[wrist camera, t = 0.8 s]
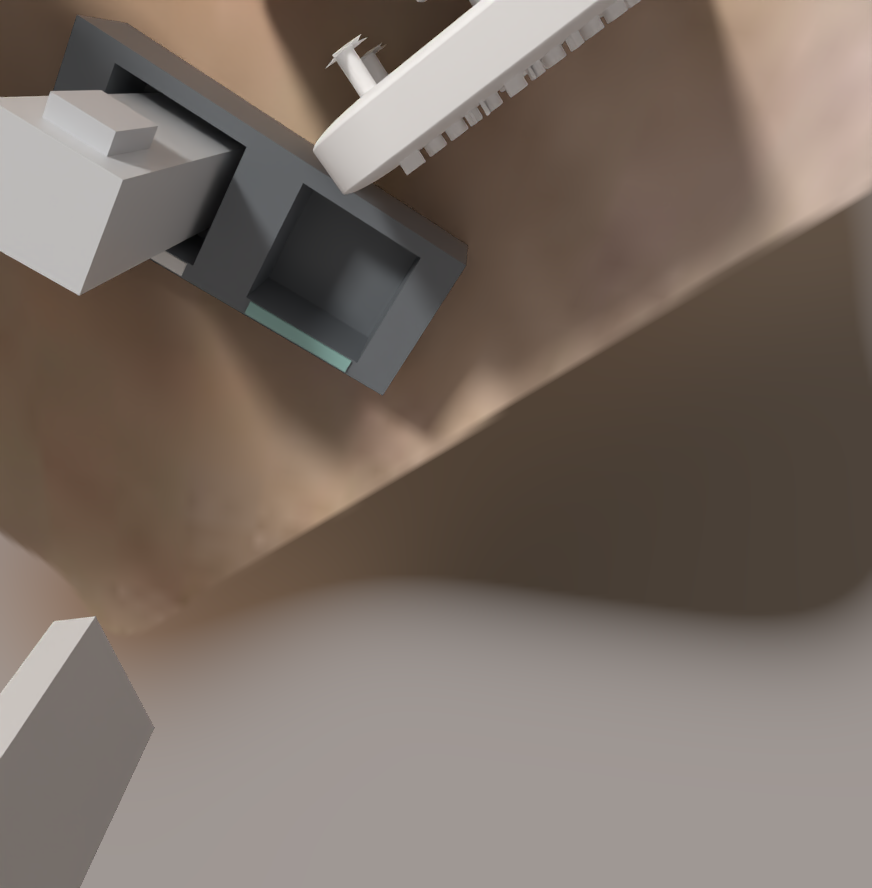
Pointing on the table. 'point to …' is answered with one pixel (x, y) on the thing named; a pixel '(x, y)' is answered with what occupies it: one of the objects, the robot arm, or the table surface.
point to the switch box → (286, 222)
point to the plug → (105, 181)
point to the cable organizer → (449, 82)
